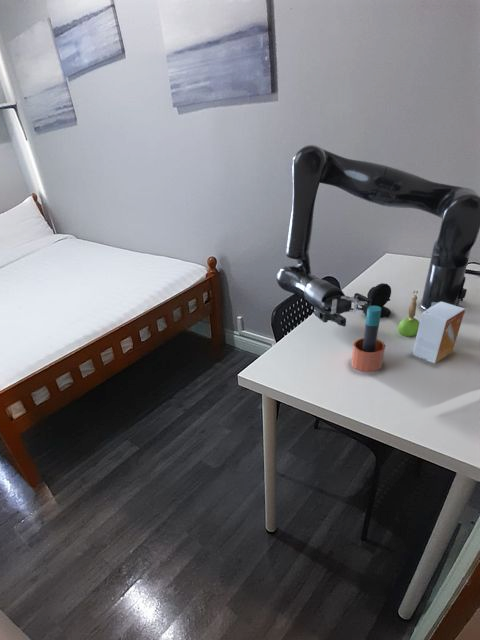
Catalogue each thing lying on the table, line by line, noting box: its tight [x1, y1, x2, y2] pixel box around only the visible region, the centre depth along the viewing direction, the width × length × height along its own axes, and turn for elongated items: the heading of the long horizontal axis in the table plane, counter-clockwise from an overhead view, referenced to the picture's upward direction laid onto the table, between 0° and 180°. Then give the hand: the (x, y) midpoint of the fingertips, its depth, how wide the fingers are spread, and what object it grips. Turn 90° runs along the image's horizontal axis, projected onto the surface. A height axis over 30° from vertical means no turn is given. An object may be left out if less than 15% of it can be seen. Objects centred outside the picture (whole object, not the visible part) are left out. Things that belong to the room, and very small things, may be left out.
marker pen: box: [362, 306, 381, 352], centre depth 101 cm, size 3×3×16 cm
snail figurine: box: [397, 290, 420, 338], centre depth 111 cm, size 5×6×12 cm
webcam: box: [364, 282, 392, 319], centre depth 123 cm, size 8×8×10 cm
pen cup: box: [350, 337, 386, 373], centre depth 104 cm, size 7×7×6 cm
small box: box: [412, 302, 466, 364], centre depth 102 cm, size 8×6×13 cm
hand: (359, 318), depth 102 cm, fingers open, 8 cm apart
